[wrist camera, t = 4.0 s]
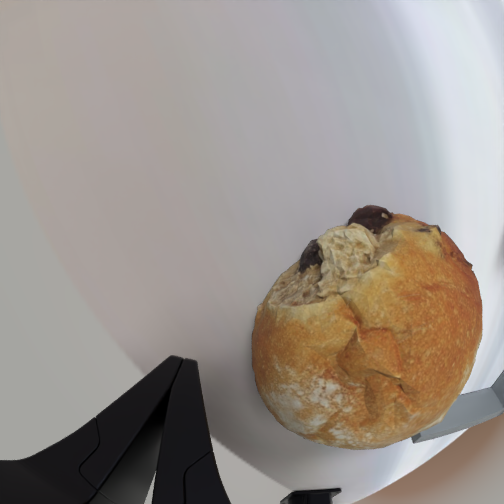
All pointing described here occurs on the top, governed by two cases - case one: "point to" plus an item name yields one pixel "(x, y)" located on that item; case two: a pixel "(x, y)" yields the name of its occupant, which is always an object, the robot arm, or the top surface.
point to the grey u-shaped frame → (468, 411)
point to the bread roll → (368, 332)
